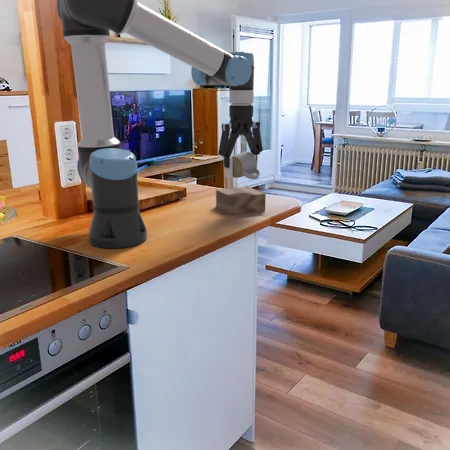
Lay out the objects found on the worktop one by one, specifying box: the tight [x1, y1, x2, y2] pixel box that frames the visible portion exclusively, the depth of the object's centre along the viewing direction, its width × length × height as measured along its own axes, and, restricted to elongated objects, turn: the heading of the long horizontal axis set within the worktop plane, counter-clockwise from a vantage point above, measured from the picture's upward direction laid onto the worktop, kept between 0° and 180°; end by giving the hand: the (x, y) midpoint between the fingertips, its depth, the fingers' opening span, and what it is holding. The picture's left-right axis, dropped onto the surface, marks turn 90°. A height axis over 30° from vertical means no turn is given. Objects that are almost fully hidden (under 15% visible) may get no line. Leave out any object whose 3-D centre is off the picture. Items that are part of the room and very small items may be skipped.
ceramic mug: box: [230, 151, 261, 180], centre depth 154 cm, size 11×8×8 cm
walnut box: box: [215, 186, 267, 216], centre depth 158 cm, size 12×12×6 cm
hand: (240, 175), depth 155 cm, fingers closed on ceramic mug, 9 cm apart
